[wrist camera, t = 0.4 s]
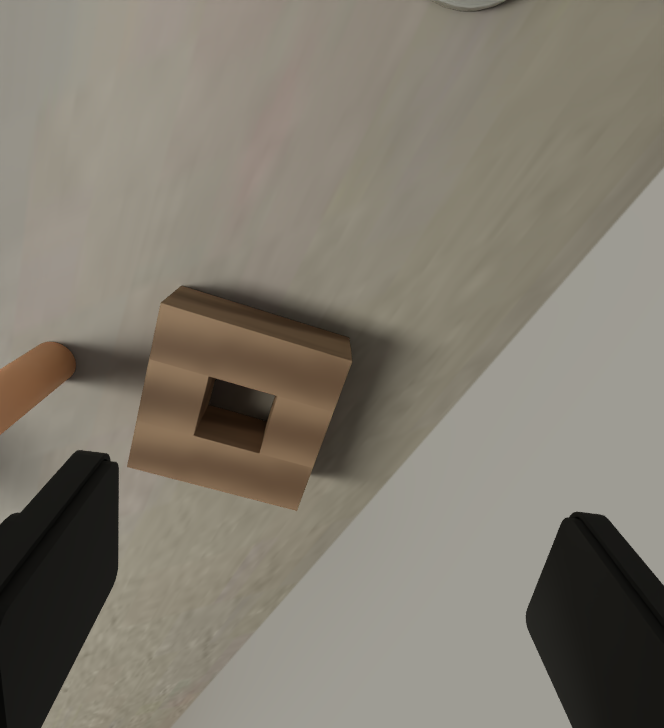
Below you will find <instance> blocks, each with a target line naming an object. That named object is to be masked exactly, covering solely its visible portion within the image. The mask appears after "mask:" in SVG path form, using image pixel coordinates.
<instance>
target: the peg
mask: <svg viewBox="0 0 664 728" xmlns="http://www.w3.org/2000/svg"><path fill="white" fill-rule="evenodd" d="M75 369H76V362H75V358H74V356H73V354H72V353H71V352H70V350H69V349H68V348H66V347H65V346H63V345H61V344H59V343H56V342H45V343H42V344H40V345H38V346H37V347H35V348H33V349H32V350H30V351H29V352H27V353H25V354H24V355H22V356H21V357H19V358H17V359H16V360H14V361H13V362H11V363H9V364H8V365H6V366H5V367H3V368H1V369H0V435H1V434H2V433H3V432H4V431H5V430H7V429H8V428H9V427H10V426H11V425H13V424H14V423H15V422H16V421H18V420H19V419H20V418H21V417H22V416H24V415H25V414H26V413H27V412H28V411H30V410H31V409H32V408H33V407H34V406H36V405H37V404H38V403H39V402H41V401H42V400H43V399H44V398H45V397H47V396H48V395H49V394H50V393H51V392H53V391H54V390H55V389H56V388H57V387H59V386H60V385H61V384H62V383H64V382H65V381H66V380H67V379H68V378H70V377H71V376H72V375H73V373H74V372H75Z"/></svg>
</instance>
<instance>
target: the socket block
mask: <svg viewBox="0 0 664 728" xmlns="http://www.w3.org/2000/svg"><path fill="white" fill-rule="evenodd" d="M351 364H352V354H351V347H350V340H349V337H346V336H342V335H339V334H336V333H333V332H329V331H326V330H323V329H320V328H317V327H313V326H310V325H307V324H304V323H300V322H297V321H294V320H291V319H288V318H284V317H281V316H278V315H275V314H271V313H268V312H265V311H262V310H258V309H255V308H252V307H249V306H246V305H242V304H239V303H236V302H233V301H229V300H226V299H223V298H220V297H217V296H213V295H210V294H207V293H204V292H200V291H197V290H194V289H191V288H188V287H184V286H180V287H179V288H178V289H177V290H176V291H174V292H173V293H172V294H171V295H170V296H168V297H167V298H166V299H165V300H164V301H162V302H161V304H160V309H159V314H158V318H157V323H156V328H155V333H154V338H153V343H152V348H151V353H150V358H149V362H148V367H147V372H146V377H145V382H144V387H143V392H142V397H141V401H140V406H139V411H138V416H137V421H136V426H135V431H134V436H133V440H132V445H131V450H130V455H129V460H128V465H127V467H130V468H134V469H137V470H141V471H145V472H149V473H153V474H157V475H161V476H164V477H168V478H172V479H176V480H180V481H184V482H188V483H191V484H195V485H199V486H203V487H207V488H211V489H215V490H219V491H222V492H226V493H230V494H234V495H238V496H242V497H246V498H249V499H253V500H257V501H261V502H265V503H269V504H273V505H277V506H280V507H284V508H288V509H292V510H296V511H297V509H298V506H299V504H300V501H301V498H302V496H303V493H304V490H305V488H306V485H307V482H308V480H309V477H310V474H311V471H312V469H313V466H314V463H315V461H316V458H317V455H318V453H319V450H320V447H321V445H322V442H323V439H324V436H325V434H326V431H327V428H328V426H329V423H330V420H331V418H332V415H333V412H334V409H335V407H336V404H337V401H338V399H339V396H340V393H341V391H342V388H343V385H344V383H345V380H346V377H347V374H348V372H349V369H350V366H351ZM216 378H217V379H220V380H223V381H227V382H230V383H234V384H237V385H241V386H244V387H248V388H251V389H255V390H258V391H262V392H265V393H269V394H272V395H275V397H274V401H273V404H272V407H271V410H270V413H269V416H268V420H267V421H264V420H261V419H257V418H254V417H250V416H246V415H243V414H239V413H236V412H232V411H229V410H225V409H222V408H218V407H214V406H211V405H209V401H210V398H211V394H212V390H213V386H214V382H215V379H216Z"/></svg>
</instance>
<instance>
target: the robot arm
mask: <svg viewBox="0 0 664 728" xmlns="http://www.w3.org/2000/svg"><path fill="white" fill-rule="evenodd" d="M431 1H433V2H435V3H437V4H439V5H441V6H443V7H446V8H450V9H455V10H459V11H477V10H482V9H486V8H490V7H494V6H496V5H498V4H500V3H502V2H504V1H506V0H431ZM118 503H119V467H118V463H117V462H111V461H110V456H109V455H108V454H107V453H99V452H91V451H83V450H78V451H76V452H75V453H74V454H73V455H72V456H71V457H70V458H69V459H68V460H67V461H66V462H65V464H64V465H63V466H62V467H61V468H60V469H59V470H58V471H57V473H56V474H55V475H54V476H53V477H52V478H51V479H50V480H49V481H48V483H47V484H46V485H45V486H44V487H43V488H42V489H41V490H40V492H39V493H38V494H37V495H36V496H35V497H34V498H33V499H32V500H31V502H30V503H29V504H28V505H27V506H26V507H25V508H24V509H23V510H22V512H21V513H14V514H11V515H10V516H9V517H8V518H6V519H5V520H4V521H3V522H2V523H1V524H0V728H41V727H42V725H43V723H44V721H45V719H46V717H47V715H48V713H49V711H50V709H51V707H52V705H53V703H54V701H55V699H56V697H57V695H58V693H59V691H60V689H61V687H62V685H63V683H64V681H65V679H66V677H67V676H68V674H69V672H70V670H71V668H72V666H73V664H74V662H75V660H76V658H77V656H78V654H79V652H80V650H81V648H82V646H83V644H84V642H85V640H86V638H87V636H88V634H89V632H90V630H91V628H92V626H93V624H94V623H95V621H96V619H97V617H98V615H99V613H100V611H101V609H102V607H103V605H104V603H105V601H106V599H107V597H108V595H109V593H110V591H111V589H112V587H113V585H114V582H115V580H116V576H117V571H118ZM526 623H527V628H528V630H529V633H530V635H531V637H532V640H533V642H534V644H535V646H536V648H537V650H538V653H539V655H540V657H541V659H542V662H543V664H544V666H545V668H546V670H547V673H548V675H549V677H550V679H551V681H552V683H553V686H554V688H555V690H556V692H557V695H558V697H559V699H560V701H561V703H562V705H563V708H564V710H565V712H566V714H567V716H568V719H569V721H570V723H571V725H572V728H664V585H663V584H662V583H661V582H660V581H659V579H658V578H657V577H656V576H655V575H654V573H652V571H651V570H650V569H649V567H648V566H647V565H646V564H645V563H644V561H643V560H642V559H641V558H640V557H639V555H638V554H637V553H636V552H635V551H634V549H633V548H632V547H631V546H630V545H629V543H628V542H627V541H626V540H625V539H624V537H623V536H622V535H621V534H620V533H619V532H618V530H617V529H616V528H615V527H614V526H613V524H612V523H611V522H610V521H609V520H608V519H607V518H606V517H605V516H603V515H599V514H591V513H583V512H574V513H572V514H571V515H570V517H569V518H565V519H564V520H563V521H562V523H561V525H560V528H559V530H558V533H557V535H556V538H555V540H554V543H553V545H552V548H551V550H550V553H549V555H548V558H547V560H546V563H545V565H544V568H543V570H542V573H541V575H540V578H539V581H538V583H537V585H536V588H535V591H534V593H533V596H532V598H531V601H530V603H529V606H528V608H527V611H526Z"/></svg>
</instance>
